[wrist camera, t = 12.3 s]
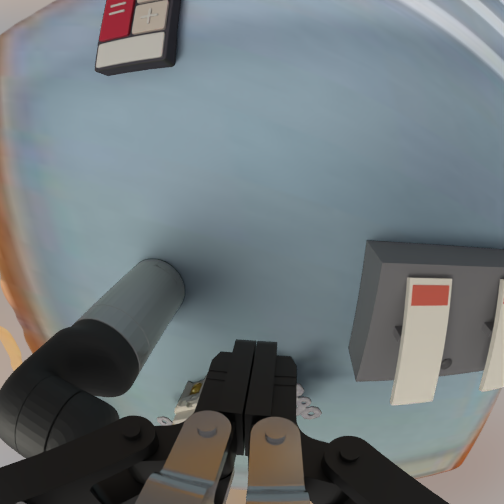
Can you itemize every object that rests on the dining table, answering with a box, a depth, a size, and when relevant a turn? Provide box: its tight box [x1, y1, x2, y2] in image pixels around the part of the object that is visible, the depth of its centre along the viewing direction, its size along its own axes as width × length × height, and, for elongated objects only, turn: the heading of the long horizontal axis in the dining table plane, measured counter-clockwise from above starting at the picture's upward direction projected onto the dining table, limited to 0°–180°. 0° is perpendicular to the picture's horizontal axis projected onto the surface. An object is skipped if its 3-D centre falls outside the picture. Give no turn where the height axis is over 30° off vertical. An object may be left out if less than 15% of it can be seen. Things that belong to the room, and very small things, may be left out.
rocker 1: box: [390, 277, 452, 405], centre depth 32 cm, size 6×16×1 cm, turn 0°
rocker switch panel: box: [349, 241, 504, 382], centre depth 37 cm, size 28×18×10 cm, turn 90°
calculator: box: [95, 0, 181, 76], centre depth 32 cm, size 11×4×15 cm
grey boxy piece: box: [157, 376, 322, 426], centre depth 48 cm, size 12×28×10 cm, turn 123°
